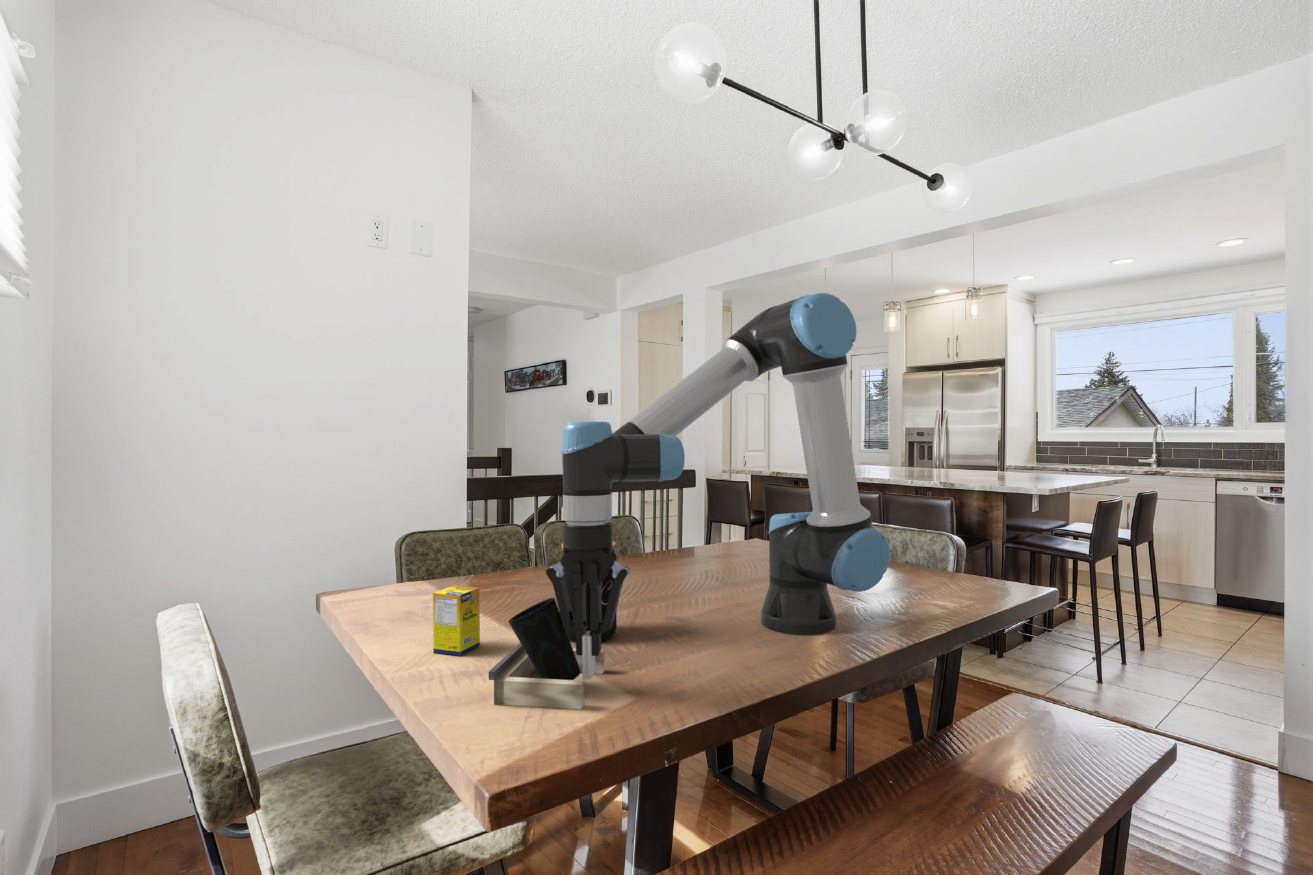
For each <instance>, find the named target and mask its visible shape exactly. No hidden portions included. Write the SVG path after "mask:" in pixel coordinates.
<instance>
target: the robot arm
mask: <svg viewBox="0 0 1313 875" xmlns="http://www.w3.org/2000/svg"><path fill="white" fill-rule="evenodd" d="M856 339H857V324H856V320H855V317H854V315H853V313H852V311H851V310H850V307H848V305H847V304H846V303H845V302H844V301H842V300H840V298H839V297H838V296H835V295H833V294H830V293H826V292H820V293H814V294H806V295H803V296H799V297H798V298H794V299H792V300H790V301H786V302H783V303H781V304H777V305H773V306H771V307H768V308H766V309H765V310H763V311H761V312H759V314H757V315H756V316H754V317H753V318H752V319H751V320H749V321H748V322H747V323H746V324H744V325H743V326H742V327H741V328H740V329H738V330H737V331H735V332H734V333H733V334H732V335H731V336H729V337H728V338H727V339H726V340H724V341H723V342H722V344H721V346H720V348H721V350H720V351H718V352H717V353H716V354H715V355H713V356H712V357H710V358H709V359H708V360H706V361H705V362H704V363H702V365H700V366H699V367H698V368H696V369H695V370H694V371H692V372H691V373H689V374H688V375H687V376H685V378H683V379H682V380H681V381H680V382H678V383H676V384H675V385H674V386H673V387H671V388H670V389H669V390H668V391H666V392H665V393H664V394H662V395H661V396H660V397H658V398H657V399H656V400H654V401H653V402H652V403H651V404H649V405H648V406H647V407H645V408H644V409H642V410H641V411H640V412H639V413H637V414H636V415H635V416H633V417H632V418H631V419H630V420H628V421H627V422H626V423H624V424H623V425H622V426H621V427H619V428H618V429H617V430H615V431H614V432H613V431H612V425H611V424H610V422H607V421H570V422H567V423H566V424H565V425H564V427H563V430H562V441H561V442H562V443H561V444H562V446H561V447H562V448H561V453H560V454H561V457H562V459H561V460H562V461H561V462H562V520H563V521H565V522H566V523H564V525H563V526H562V543H563V549H562V554H561V556H560V557H559V562H557V563H556V564H554V565H551V566H549V567H548V568H547V569H546V570H545V574H546V576H547V578H548V579H549V581H550V582H551V583H552V586H553V587H552V588H553V591H554V595H555V600H556V604H557V606H558V609H559V612H560V615H561V619H562V623H563V627H564V629H565V630H566V631H572V632H574V633H575V635H576V642H575V648H576V653H577V655H581V656H582V663H583V673H582V680H584V681H586V680H590V681H591V680H592V678H594V676H595V674H596V673H595V656H598V655H599V654H600V651H601V649H602V642H601V633H603V632H608V631H609V630H610V628H611V627H612V625H613V622H614V618H615V614H616V609H617V610H618V605H619V600H620V597H621V593H622V588H623V585H624V581H625V579H626V578H627V576H628V575H629V574H630V571H631V570H630V568H629V567H628V566H624V565H623V564H621V563H619V562H617V557H616V558H615V555H614V553H615V552H614V553H613V550H612V541H613V525H612V523H611V522H610V520H611V519H612V518H613V498H612V497H613V490H612V489H613V487H612V486H613V483H621V482H622V483H623V482H625V483H626V482H659V483H662V482H663V481H672V480H676V479H678V478H679V477H680V476H681V474H682V473H683V471H684V467H685V460H686V459H685V457H686V456H685V449H684V445H683V442H682V441H681V439H680V438H679V437H678V435H680V434H681V433H682V432H683V431H685V429H686V428H688V427H690V426H691V425H692V423H694V422H695V421H697V420H698V419H699V418H701V416H703V415H704V414H705V413H707V412H708V411H710V409H711V408H713V407H715V405H717V404H718V403H719V402H720V401H722V400H723V399H725V398H726V396H728V395H730V393H732V392H733V391H734V390H736V389H737V388H738V387H739V386H741V385H742V384H743V383H744V382H753V381H755V380H756V379H757V378H758V377H760V376H761V375H763V374H765V373H767V372H768V371H771V370H774V369H777V368H781V372H782V374H781V375H782V378H784V379H785V380H787V381H788V382H790V383H791V385H792V388H793V393H794V394H793V395H794V399H795V400H794V401H795V406H796V413H797V419H798V424H799V431H800V438H801V443H802V450H803V451H802V452H803V456H804V458H803V459H804V461H805V462H804V463H805V469H806V470H805V471H806V476H807V480H808V481H807V482H808V487H809V493H810V494H809V495H810V501H811V508H812V511H810V512H809V511H807V512H789V513H787V512H786V513H777V514H773V515H772V516H771V517H770V519H769V526H768V527H769V529H768V532H767V533H768V540H769V541H768V544H769V546H768V548H769V551H768V552H769V553H768V554H769V559H768V560H769V562H768V563H769V584H768V585H769V586H768V590H767V592H766V595H765V597H764V601H763V604H762V607H761V611H760V623H761V625H763V626H764V627H766V628H768V629H770V630H773V631H775V632H781V633H785V634H792V635H820V634H826V633H830V632H832V631H834V630H835V629H836V628H837V615H836V611H835V608H834V605H833V602H832V599H831V596H830V593H829V590H828V585H831V586H834V587H837V588H838V589H840V590H843V591H852V592H866V591H868V590H870V589H872V588H874V587H875V586H877V584H879V583H880V582H881V580H882V579H883V576H884V574H885V573H886V572H888V571H887V570H888V569H889V565H890V562H891V561H890V560H891V547H890V543H889V541H888V539H887V538H886V535H884V534H883V533H882V532H881V531H879V530H877V529H875V528H874V526H873V521H872V515H871V512H870V510H868V509H867V508H865V507H864V506H863V505H862V504H861V501H860V500H861V499H860V495H859V494H860V493H859V486H858V481H857V474H856V473H857V472H856V468H855V462H854V456H853V455H854V454H853V449H852V448H853V446H852V443H851V435H850V429H849V423H848V416H847V409H846V404H845V397H844V389H843V384H842V377H841V376H842V374H843V373H844V371H845V370H846V368H847V367H848V365H849V364H848V360H847V354H848V353H849V352H850V351H851V350H852V349H853V347H854V344H853V343H854V342H856ZM611 568H612V569H613V573H612V576H613V578H614V579H615V580H614V582H613V584H612V588H611V592H610V596H609V600H608V605H607V609H606V613H605V617H604V621H603V622H602V580H603V579H604V578H605V577H606V575H607V574H608V572H609V571H610V570H611ZM563 569H565V571H566V572H567V573H568V575H569V576H570V578H571V579H572V580H573V588H574V598H575V619H574V615H573V611H572V607H571V603H570V599H569V595H568V591H567V587H566V583H565V580H564V577H563V575H564V570H563ZM587 583H589V584H590V631H586V628H587V626H588V625H587V626H586V585H587Z"/></svg>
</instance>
